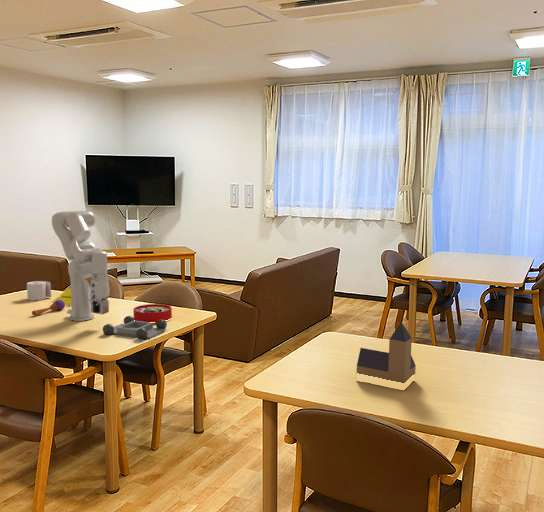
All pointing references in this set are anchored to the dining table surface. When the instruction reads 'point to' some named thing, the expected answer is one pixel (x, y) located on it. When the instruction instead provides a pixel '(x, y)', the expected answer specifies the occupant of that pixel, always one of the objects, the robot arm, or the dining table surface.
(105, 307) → the engine block
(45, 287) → the toilet tissue
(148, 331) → the chassis bay
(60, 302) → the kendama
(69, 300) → the pyramid toy
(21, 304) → the dining table surface
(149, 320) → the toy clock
